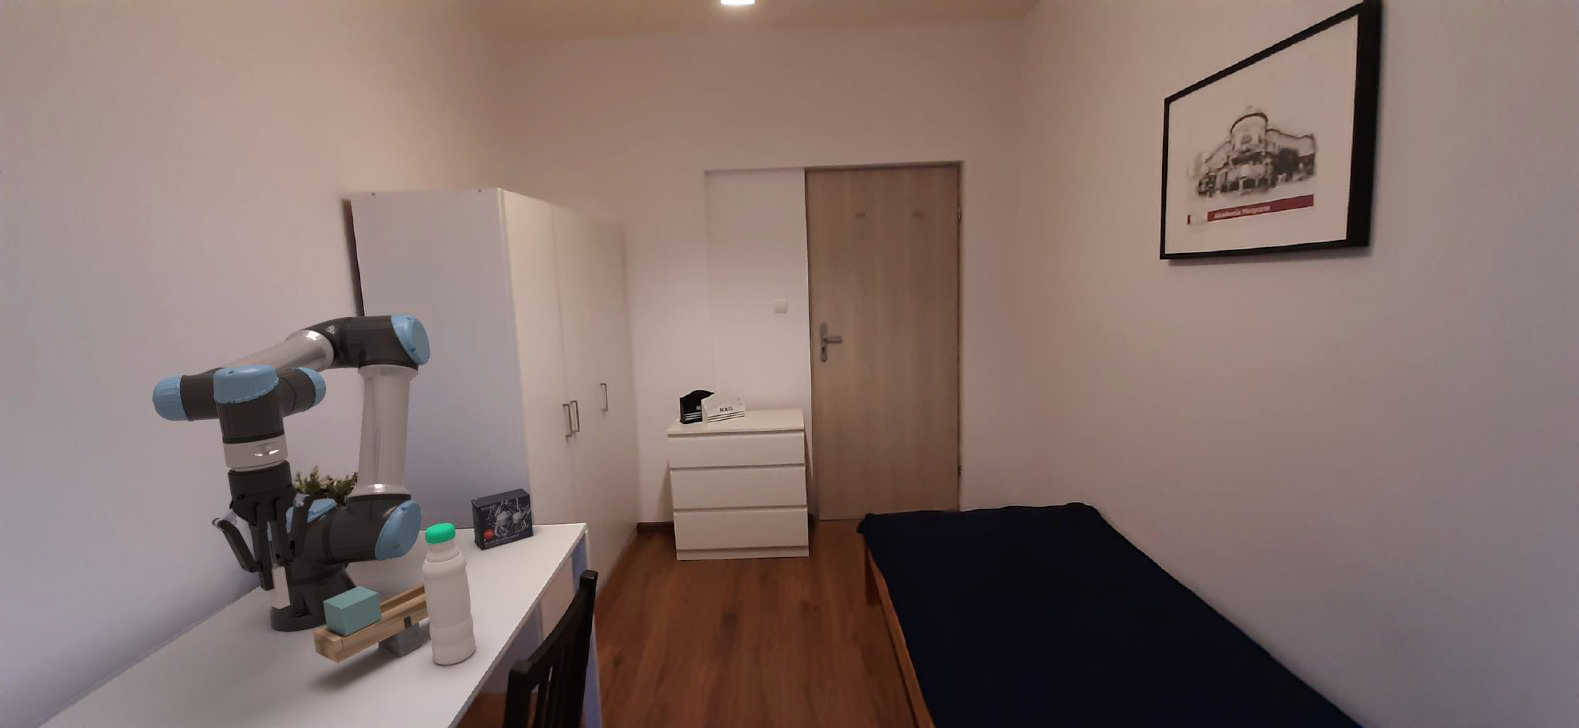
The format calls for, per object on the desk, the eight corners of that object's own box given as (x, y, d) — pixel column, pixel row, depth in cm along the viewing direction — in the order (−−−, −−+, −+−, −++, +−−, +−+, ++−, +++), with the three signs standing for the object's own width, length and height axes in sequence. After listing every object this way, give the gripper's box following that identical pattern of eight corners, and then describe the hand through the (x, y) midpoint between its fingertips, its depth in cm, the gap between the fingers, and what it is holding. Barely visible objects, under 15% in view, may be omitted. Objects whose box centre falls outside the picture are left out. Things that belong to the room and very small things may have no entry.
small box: (481, 551, 161) (476, 506, 160) (474, 543, 167) (469, 499, 165) (534, 536, 170) (530, 493, 168) (525, 528, 175) (521, 487, 173)
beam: (319, 678, 112) (310, 617, 110) (448, 612, 132) (441, 560, 131) (342, 690, 108) (332, 627, 106) (470, 620, 129) (463, 567, 127)
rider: (328, 635, 112) (323, 601, 111) (364, 618, 117) (359, 586, 116) (347, 644, 109) (341, 609, 108) (383, 626, 114) (378, 592, 113)
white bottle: (465, 639, 122) (451, 516, 118) (483, 652, 118) (468, 524, 114) (426, 657, 117) (410, 528, 113) (443, 671, 112) (426, 538, 109)
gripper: (217, 479, 92) (242, 631, 95) (317, 455, 103) (337, 591, 106) (194, 473, 95) (219, 619, 99) (294, 451, 107) (313, 582, 110)
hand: (280, 605), depth 103 cm, fingers closed
